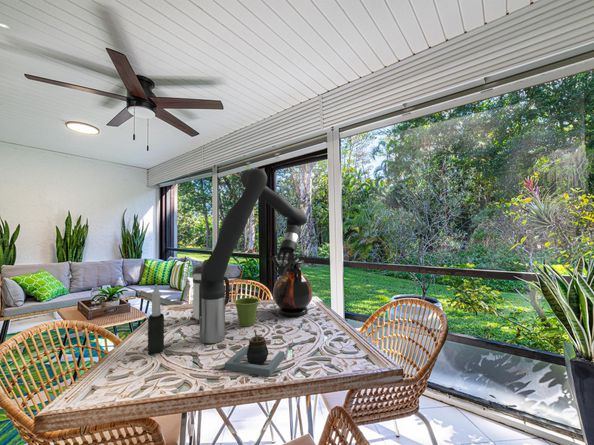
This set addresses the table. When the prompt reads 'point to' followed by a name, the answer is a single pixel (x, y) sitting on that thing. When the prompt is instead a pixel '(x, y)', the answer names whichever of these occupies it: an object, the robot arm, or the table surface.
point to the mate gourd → (257, 350)
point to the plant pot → (246, 310)
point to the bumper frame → (251, 368)
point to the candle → (155, 325)
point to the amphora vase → (293, 292)
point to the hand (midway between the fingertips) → (280, 275)
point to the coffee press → (198, 294)
